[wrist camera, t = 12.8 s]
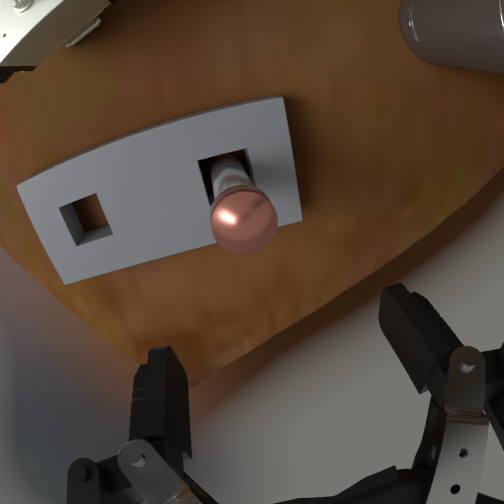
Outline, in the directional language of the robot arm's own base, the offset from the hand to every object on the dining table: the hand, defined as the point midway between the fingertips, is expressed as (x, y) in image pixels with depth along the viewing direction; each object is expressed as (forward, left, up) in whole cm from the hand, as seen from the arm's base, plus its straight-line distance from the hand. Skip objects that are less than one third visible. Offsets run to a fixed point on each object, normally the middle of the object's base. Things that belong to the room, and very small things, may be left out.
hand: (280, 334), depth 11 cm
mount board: (+7, 0, -21) cm, 22 cm away
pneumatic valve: (+10, -19, -22) cm, 30 cm away
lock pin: (0, 0, -21) cm, 21 cm away
